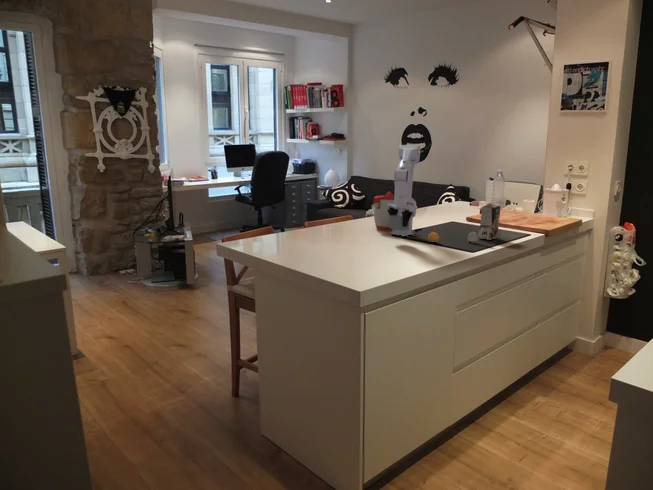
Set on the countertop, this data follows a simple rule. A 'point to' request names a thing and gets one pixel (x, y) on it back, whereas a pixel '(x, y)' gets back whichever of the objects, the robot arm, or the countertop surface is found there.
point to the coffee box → (490, 221)
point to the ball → (433, 237)
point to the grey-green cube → (397, 222)
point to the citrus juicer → (382, 211)
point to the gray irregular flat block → (475, 235)
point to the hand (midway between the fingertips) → (399, 225)
